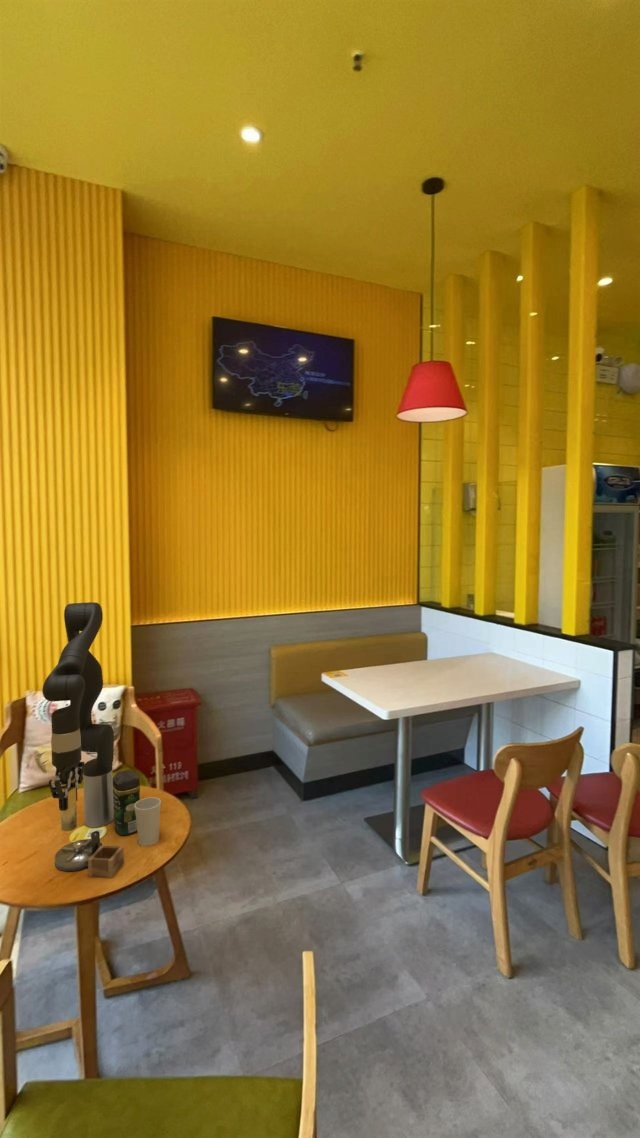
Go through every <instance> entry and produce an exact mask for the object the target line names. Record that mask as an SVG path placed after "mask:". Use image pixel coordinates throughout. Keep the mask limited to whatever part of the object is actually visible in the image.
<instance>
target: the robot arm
mask: <svg viewBox="0 0 640 1138" xmlns="http://www.w3.org/2000/svg"><path fill="white" fill-rule="evenodd" d="M103 615H104V614H103V609H102V606H101V604H100V603H98V602H92V601H91V602H78V603H77V602H75V603H68V604H66V606H65V607H64V611H63V618H64V620H63V621H64V626H65V627H64V628H65V632H66V637H67V643H66V644H65V646H64V647H63V649H62V651H61V653H60V655H59V659H58V663H57V664H56V665H55V667H53V670H51V672H50V673H49V674H48V676H47V677H46V679H45V680H44V682H43V686H42V696H43V698H44V699H45V700H46V701H48V702H67V701H68V702H69V705H67V706H65V707H64V706H63V707H60V708H57V709H55V710H53V711H52V713H51V716H50V717H51V739H50V745H51V746H50V747H51V748H50V749H51V750H50V751H51V765H52V766H53V767H55V769H56V770H55V772H54V773H55V774H54V778H53V779H49V781H48V786H49V790H50V792H51V797H52V799H58V809H59V811H60V812H61V811H66V810H67V809H68V796H67V795H68V788H70V786H74V787H76V802H78V789H79V785H80V784H82V782H83V806H84V807H83V809H84V813H83V814H84V825H85V826H86V827H89V828H100V827H104V826H106V825H109V824H110V823H112V822H114V805H113V777H114V776H113V763H114V755H115V754H114V750H115V749H114V747H115V744H114V743H115V733H114V728H113V726H112V725H111V724H108V723H93V720H92V719H93V718H92V716H93V715H92V714H93V713H92V712H93V708H94V706H95V703H96V701H97V700H98V698H99V697H100V695H101V693H102V690H103V687H104V679H103V669H102V665H101V664H100V661H99V660H97V658H96V657H95V656H94V654H92V652H91V651H90V649H91V646H92V644H93V642H94V641H95V640H96V637H97V635H98V633H99V631H100V629H101V627H102V624H103V619H104V618H103ZM82 752H84V753H96V757H95V758H93V759H89V760H88V761H86V762H85V761H82ZM62 789H64V793H63V791H62Z"/></svg>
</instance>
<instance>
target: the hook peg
mask: <svg viewBox="0 0 640 1138" xmlns="http://www.w3.org/2000/svg"><path fill="white" fill-rule="evenodd" d="M62 791H63V793H64V789H62ZM67 796H68V809H67V810H66V811H61V810H60V829H61V831H63V832H71V831H74V830H75V829H76V828H77V827H78V816H77V815H78V814H77V812H78V810H77V801H76V787H74V786H70V788H68V795H67Z"/></svg>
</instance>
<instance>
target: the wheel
mask: <svg viewBox="0 0 640 1138" xmlns="http://www.w3.org/2000/svg"><path fill="white" fill-rule="evenodd" d="M100 835H101V834H100V831H99V830H95V831H92V832H90V838H87V839H85V838H84V839H83V840H84V844H85V848H84V849H83V850H81V851H77V852H76V851H74V847H73V843H74V842H75V841H72V842H70V843H68V844H65V845H64V846H62V847H61V848H60V849H59V850H58V851H57V852H56V853H55V856H54V862H55V863H54V864H55V865H54V866H55V867H56V868H57V869H58V870H60V871H65V872H73V871H74V872H75V871H80V870H83V869H87V868H88V859H89V858H90V857H91V856H92V855H93V854H94V853H95V851H96V850H97V849H98V848H99V847H100V846H104V845H103V843H102V842H101V836H100Z"/></svg>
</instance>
